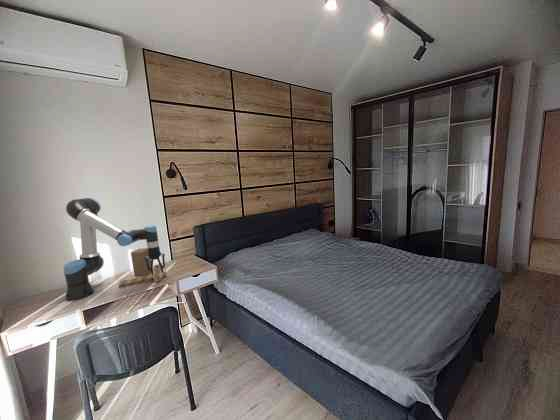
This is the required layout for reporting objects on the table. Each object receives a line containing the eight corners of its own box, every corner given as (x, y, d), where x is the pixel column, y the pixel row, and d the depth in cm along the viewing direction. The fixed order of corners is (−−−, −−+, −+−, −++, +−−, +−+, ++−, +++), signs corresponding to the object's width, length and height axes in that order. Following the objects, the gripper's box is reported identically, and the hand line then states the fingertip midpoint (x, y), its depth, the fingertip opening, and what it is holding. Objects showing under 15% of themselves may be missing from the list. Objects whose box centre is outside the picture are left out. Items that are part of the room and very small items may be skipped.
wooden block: (153, 271, 210) (149, 247, 207) (145, 276, 200) (142, 251, 197) (142, 271, 211) (138, 248, 208) (134, 276, 201) (130, 252, 198)
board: (118, 287, 180) (118, 285, 180) (120, 283, 188) (120, 280, 188) (166, 277, 192) (166, 275, 192) (166, 273, 201) (166, 271, 200)
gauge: (155, 281, 183) (153, 267, 182) (155, 276, 195) (153, 262, 193) (161, 280, 185) (159, 265, 184) (161, 275, 196) (159, 261, 195)
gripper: (139, 250, 177) (144, 282, 179) (166, 245, 183) (170, 276, 186) (140, 247, 183) (145, 279, 186) (166, 243, 190) (170, 273, 193)
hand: (158, 277), depth 186 cm, fingers closed on gauge, 4 cm apart
